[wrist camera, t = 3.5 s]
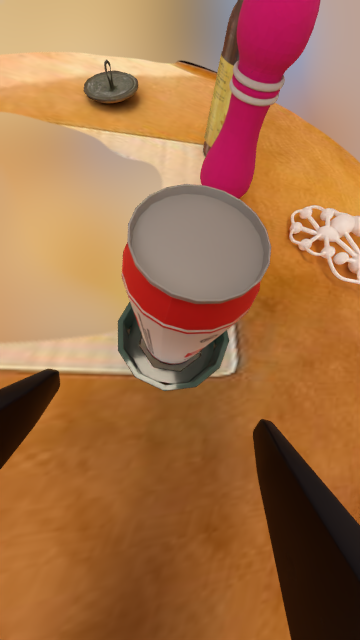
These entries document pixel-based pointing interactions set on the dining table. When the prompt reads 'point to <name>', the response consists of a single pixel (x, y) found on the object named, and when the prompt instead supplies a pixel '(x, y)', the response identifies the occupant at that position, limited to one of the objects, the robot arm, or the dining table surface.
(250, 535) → the dining table surface
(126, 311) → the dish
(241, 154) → the pink bowling pin
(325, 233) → the tangled rod sculpture
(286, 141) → the dining table surface
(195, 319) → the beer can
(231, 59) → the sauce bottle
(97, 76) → the lid
